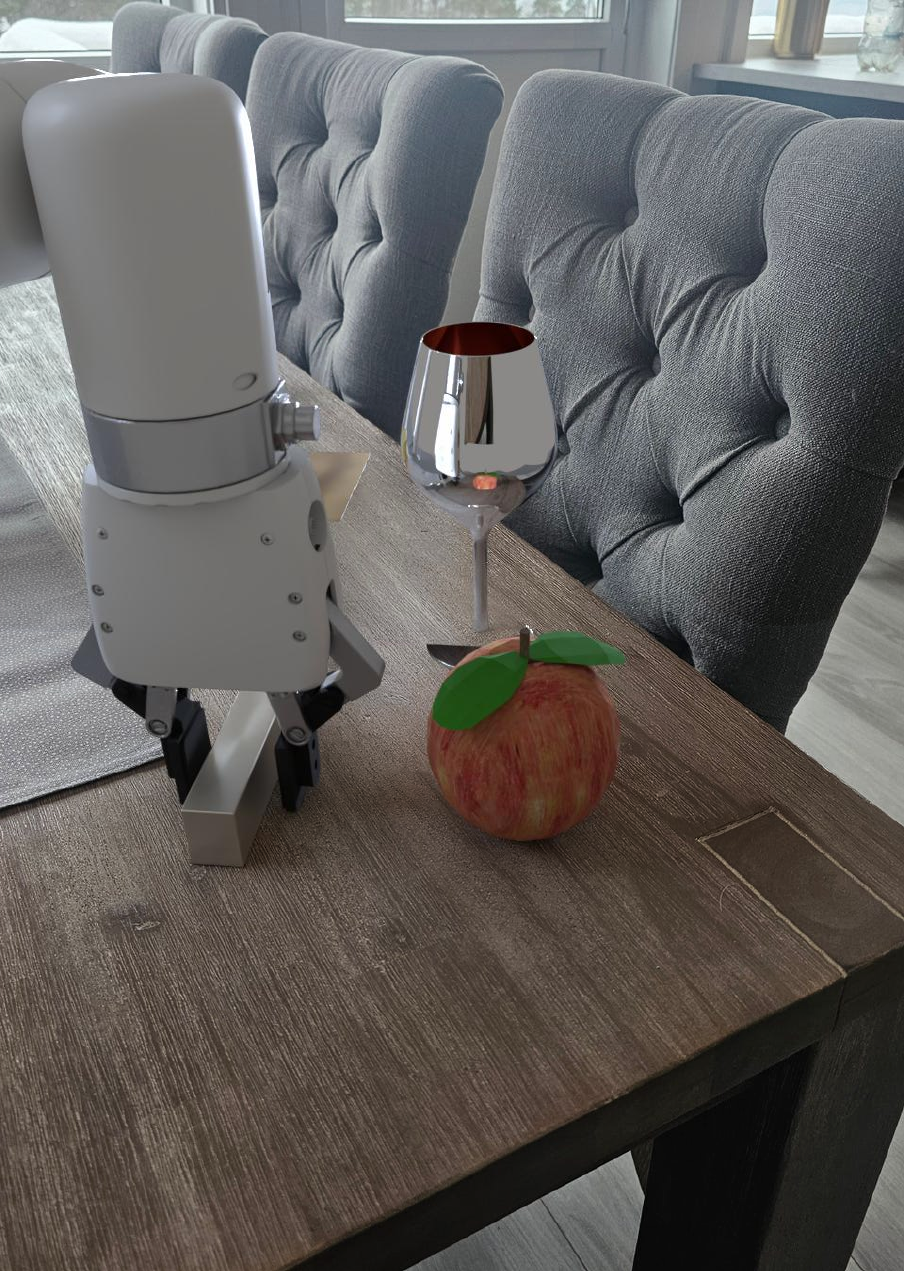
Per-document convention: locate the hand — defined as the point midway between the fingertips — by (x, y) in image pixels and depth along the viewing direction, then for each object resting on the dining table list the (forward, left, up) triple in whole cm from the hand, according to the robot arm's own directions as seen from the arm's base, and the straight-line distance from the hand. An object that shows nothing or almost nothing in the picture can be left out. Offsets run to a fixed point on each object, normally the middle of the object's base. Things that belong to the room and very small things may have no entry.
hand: (247, 786), depth 51 cm
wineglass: (+10, +14, -1) cm, 17 cm away
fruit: (+13, 0, -1) cm, 13 cm away
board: (-10, +33, 0) cm, 34 cm away
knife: (0, +5, 0) cm, 5 cm away
